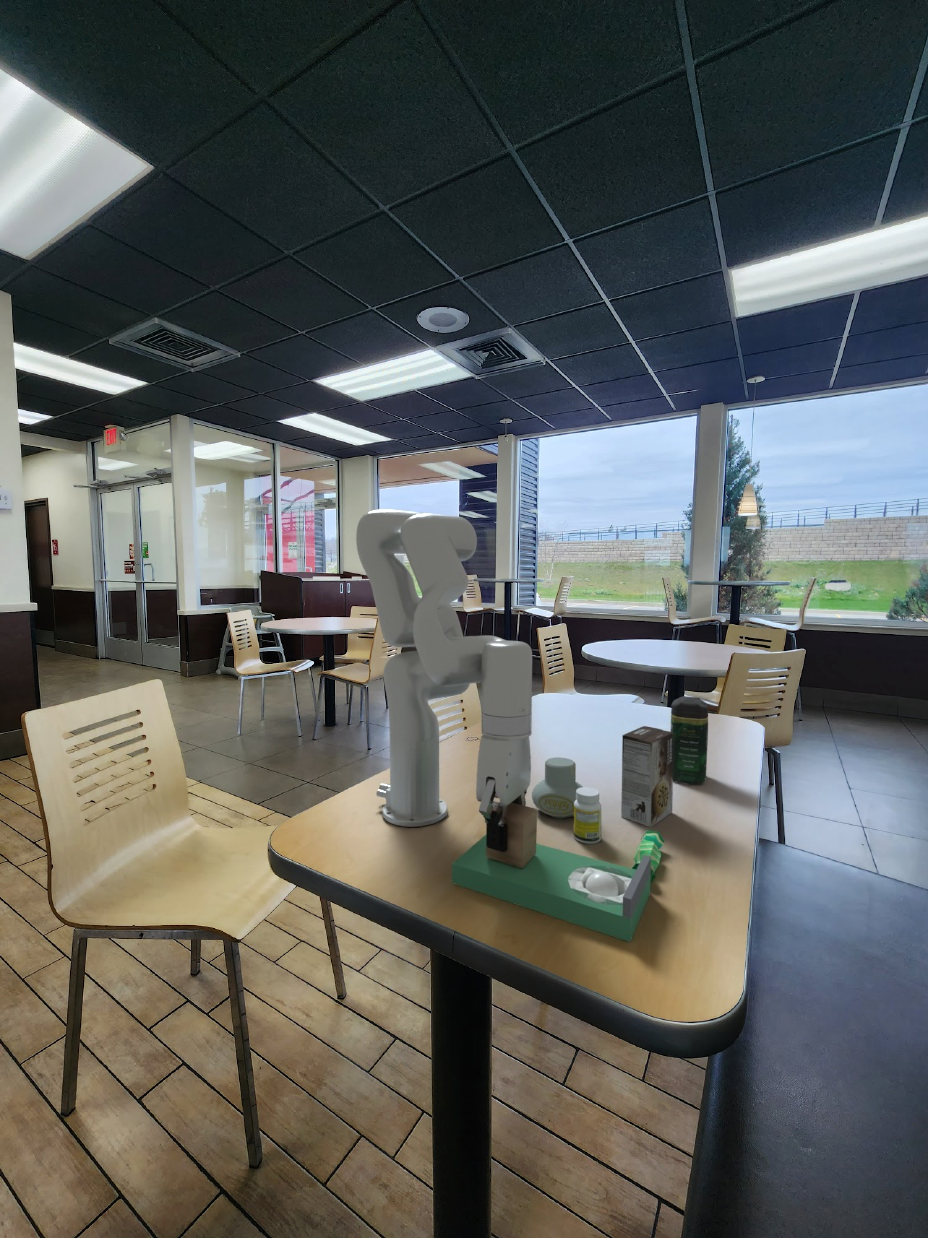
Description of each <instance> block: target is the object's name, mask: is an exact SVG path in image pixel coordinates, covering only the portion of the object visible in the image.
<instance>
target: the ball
mask: <svg viewBox="0 0 928 1238" xmlns="http://www.w3.org/2000/svg"><path fill="white" fill-rule="evenodd" d="M585 888H586V889H587V890H588V891H590V892H591V893H593V894H596V895H600V896H603V897H617V896H618V886H617V883H616V881H615V880H614V878H613V877H612V876H611V875H609V874H608V873H605V872H595V873H593V874H591V875H590V876H589V877H588V879H587V881H586V887H585Z"/></svg>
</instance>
